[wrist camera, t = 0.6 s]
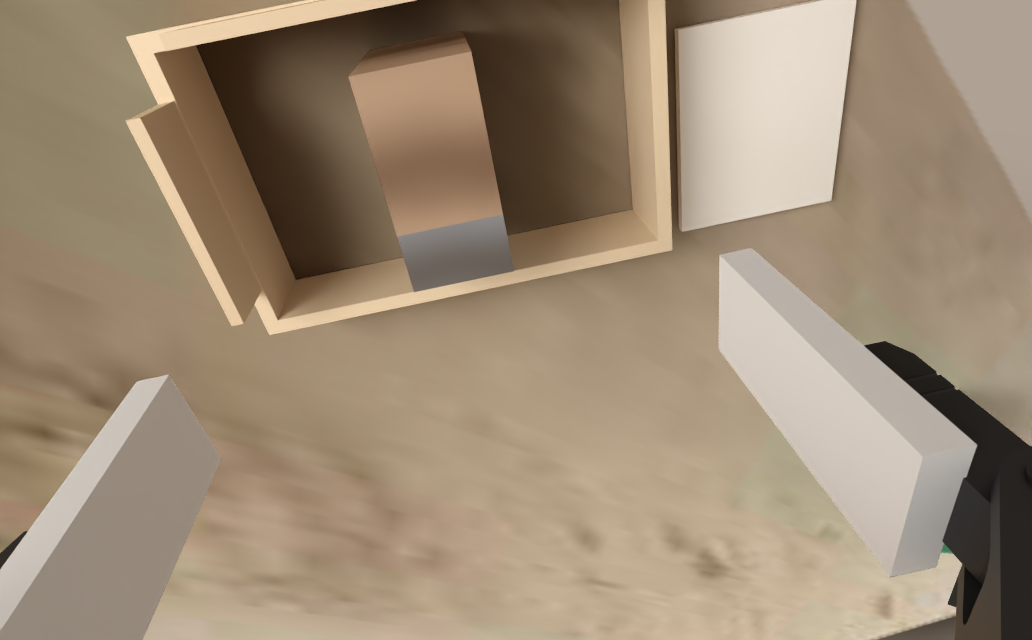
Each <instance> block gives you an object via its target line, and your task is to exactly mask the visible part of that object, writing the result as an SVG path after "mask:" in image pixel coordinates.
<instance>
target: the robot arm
mask: <svg viewBox="0 0 1032 640" xmlns="http://www.w3.org/2000/svg"><path fill="white" fill-rule="evenodd" d="M719 351H720V352H721V353H722V355H723V356H724V357H725V359H726V360H727V361H728V363H729V364H730V365H731V367H732V368H733V369H734V371H735V372H736V373H737V375H738V376H739V377H740V379H741V380H742V381H743V383H744V384H745V385H746V387H747V388H748V389H749V391H750V392H751V393H752V395H753V396H754V397H755V399H756V400H757V401H758V403H759V404H760V405H761V407H762V408H763V409H764V411H765V412H766V413H767V415H768V416H769V417H770V419H771V420H772V421H773V423H774V424H775V425H776V427H777V428H778V429H779V430H780V432H781V433H782V434H783V436H784V437H785V438H786V440H787V441H788V442H789V444H790V445H791V446H792V448H793V449H794V450H795V452H796V453H797V454H798V456H799V457H800V458H801V460H802V461H803V462H804V464H805V465H806V466H807V468H808V469H809V470H810V472H811V473H812V474H813V476H814V477H815V478H816V480H817V481H818V482H819V484H820V485H821V486H822V488H823V489H824V490H825V492H826V493H827V494H828V496H829V497H830V498H831V500H832V501H833V502H834V504H835V505H836V506H837V508H838V509H839V510H840V512H841V513H842V514H843V516H844V517H845V518H846V520H847V521H848V522H849V524H850V525H851V526H852V528H853V529H854V530H855V532H856V533H857V534H858V536H859V537H860V538H861V540H862V541H863V542H864V544H865V545H866V546H867V548H868V549H869V550H870V552H871V553H872V554H873V556H874V557H875V558H876V560H877V561H878V562H879V564H880V565H881V566H882V568H883V569H884V570H885V572H886V573H887V574H888V576H889V577H894V576H899V575H903V574H908V573H912V572H917V571H921V570H926V569H930V568H935V567H936V565H937V562H938V559H939V557H940V554H941V551H942V548H943V545H944V544H945V545H946V546H947V547H948V548H949V549H950V550H951V552H952V553H953V554H954V555H955V556H956V557H957V558H958V559H959V561H960V562H961V563H962V567H961V570H960V572H959V575H958V577H957V580H956V583H955V585H954V588H953V591H952V593H951V596H950V599H949V601H948V605H951V606H954V607H956V606H957V608H956V629H955V640H1032V446H1029V445H1028V444H1026V443H1025V442H1024V441H1023V440H1021V439H1020V438H1019V437H1018V436H1016V435H1015V434H1014V433H1013V432H1011V431H1010V430H1009V429H1008V428H1006V427H1005V426H1004V425H1003V424H1001V423H1000V422H999V421H998V420H996V419H995V418H994V417H993V416H991V415H990V414H989V413H988V412H986V411H985V410H984V409H983V408H981V407H980V406H979V405H978V404H976V403H975V402H974V401H973V400H971V399H970V398H969V397H968V396H966V395H965V394H964V393H963V392H961V391H960V390H955V388H954V385H953V384H951V383H950V382H949V381H947V380H946V379H945V378H944V377H942V376H941V375H937V374H936V371H935V370H934V369H932V368H931V367H930V366H929V365H927V364H926V363H925V362H924V361H922V360H921V359H920V358H919V357H917V356H916V355H915V354H913V353H911V352H909V351H906V350H904V349H902V348H899V347H897V346H895V345H893V344H890V343H888V342H886V341H883V342H879V343H874V344H869V345H865V346H863V345H862V344H861V343H860V342H859V341H858V340H856V339H855V338H854V337H853V336H852V335H851V334H850V333H848V332H847V331H846V330H845V329H844V328H843V327H842V326H840V325H839V324H838V323H837V322H836V321H835V320H834V319H832V318H831V317H830V316H829V315H828V314H827V313H826V312H824V311H823V310H822V309H821V308H820V307H819V306H817V305H816V304H815V303H814V302H813V301H812V300H811V299H809V298H808V297H807V296H806V295H805V294H804V293H803V292H801V291H800V290H799V289H798V288H797V287H796V286H795V285H793V284H792V283H791V282H790V281H789V280H788V279H787V278H785V277H784V276H783V275H782V274H781V273H780V272H779V271H777V270H776V269H775V268H774V267H773V266H772V265H770V264H769V263H768V262H767V261H766V260H765V259H764V258H762V257H761V256H760V255H759V254H758V253H757V252H756V251H754V250H753V249H752V248H748V249H744V250H739V251H735V252H730V253H725V254H721V255H720V264H719ZM221 459H222V458H221V456H220V455H219V453H218V451H217V450H216V448H215V447H214V445H213V443H212V442H211V440H210V439H209V437H208V435H207V434H206V432H205V431H204V429H203V428H202V426H201V424H200V423H199V421H198V420H197V418H196V416H195V415H194V413H193V412H192V410H191V408H190V407H189V405H188V404H187V402H186V400H185V399H184V397H183V396H182V394H181V393H180V391H179V389H178V388H177V386H176V385H175V383H174V381H173V380H172V378H171V377H170V375H165V376H160V377H155V378H151V379H146V380H142V381H137V382H136V383H135V385H134V386H133V387H132V389H131V390H130V392H129V393H128V394H127V396H126V397H125V398H124V400H123V401H122V403H121V404H120V405H119V407H118V408H117V409H116V411H115V412H114V414H113V415H112V416H111V418H110V419H109V420H108V422H107V423H106V425H105V426H104V427H103V429H102V430H101V431H100V433H99V434H98V436H97V437H96V438H95V440H94V441H93V442H92V444H91V445H90V447H89V448H88V449H87V451H86V452H85V453H84V455H83V456H82V458H81V459H80V460H79V462H78V463H77V464H76V466H75V467H74V469H73V470H72V471H71V473H70V474H69V476H68V477H67V478H66V480H65V481H64V482H63V484H62V485H61V487H60V488H59V489H58V491H57V492H56V493H55V495H54V496H53V498H52V499H51V500H50V502H49V503H48V504H47V506H46V507H45V509H44V510H43V511H42V513H41V514H40V515H39V517H38V518H37V520H36V521H35V522H34V524H33V525H32V526H31V528H30V529H29V531H25V532H23V533H22V534H21V535H20V536H19V537H18V538H17V539H16V540H15V541H13V542H12V543H11V544H10V545H9V546H8V547H7V548H6V549H5V550H4V551H2V552H1V553H0V640H143V638H144V635H145V633H146V631H147V629H148V626H149V624H150V622H151V619H152V617H153V615H154V613H155V610H156V608H157V606H158V603H159V601H160V599H161V597H162V594H163V592H164V590H165V587H166V585H167V583H168V580H169V578H170V576H171V574H172V571H173V569H174V567H175V564H176V562H177V560H178V558H179V555H180V553H181V551H182V548H183V546H184V544H185V542H186V539H187V537H188V535H189V532H190V530H191V528H192V526H193V523H194V521H195V519H196V516H197V514H198V512H199V510H200V507H201V505H202V503H203V500H204V498H205V496H206V494H207V491H208V489H209V487H210V484H211V482H212V480H213V477H214V475H215V473H216V471H217V468H218V466H219V464H220V461H221Z"/></svg>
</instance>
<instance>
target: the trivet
mask: <svg viewBox="0 0 1032 640" xmlns="http://www.w3.org/2000/svg"><path fill="white" fill-rule="evenodd" d="M855 8H856V0H813V1H808V2H804V3H799V4H794V5H789V6H784V7H779V8H774V9H769V10H765V11H760V12H755V13H750V14H745V15H740V16H735V17H731V18H726V19H721V20H716V21H711V22H706V23H701V24H697V25H692V26H687V27H682V28H677V29H675V73H676V119H677V164H678V209H679V229H680V230H681V231H682V232H684V231H689V230H694V229H698V228H703V227H708V226H713V225H717V224H722V223H727V222H732V221H736V220H741V219H746V218H751V217H755V216H760V215H765V214H770V213H774V212H779V211H784V210H789V209H793V208H798V207H803V206H808V205H813V204H817V203H822V202H827V201H831V198H832V190H833V183H834V175H835V167H836V159H837V151H838V143H839V135H840V127H841V119H842V111H843V103H844V95H845V88H846V80H847V72H848V64H849V56H850V48H851V40H852V32H853V24H854V16H855Z"/></svg>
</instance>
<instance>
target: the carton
mask: <svg viewBox="0 0 1032 640" xmlns="http://www.w3.org/2000/svg"><path fill="white" fill-rule="evenodd" d="M410 1H415V0H301V1H297V2H292V3H287V4H282V5H277V6H272V7H267V8H262V9H257V10H252V11H247V12H242V13H237V14H233V15H228V16H223V17H218V18H213V19H208V20H203V21H198V22H193V23H188V24H183V25H178V26H174V27H169V28H164V29H160V30H155V31H151V32H146V33H141V34H137V35H132V36H128V37H126V38H127V40H128V42H129V45H130V47H131V49H132V51H133V53H134V55H135V57H136V59H137V61H138V63H139V65H140V67H141V69H142V72H143V74H144V76H145V78H146V80H147V82H148V84H149V86H150V88H151V90H152V92H153V94H154V96H155V99H156V101H157V103H158V105H157V106H155V107H153V108H151V109H149V110H147V111H145V112H143V113H141V114H138V115H136V116H134V117H132V118H130V119H128V120H126V123H127V125H128V127H129V129H130V131H131V133H132V135H133V136H134V138H135V140H136V142H137V144H138V146H139V148H140V150H141V152H142V154H143V156H144V158H145V160H146V162H147V163H148V165H149V167H150V169H151V171H152V173H153V175H154V177H155V179H156V181H157V183H158V185H159V187H160V189H161V190H162V192H163V194H164V196H165V198H166V200H167V202H168V204H169V206H170V208H171V210H172V212H173V214H174V216H175V217H176V219H177V221H178V223H179V225H180V227H181V229H182V231H183V233H184V235H185V237H186V239H187V241H188V243H189V244H190V246H191V248H192V250H193V252H194V254H195V256H196V258H197V260H198V262H199V264H200V266H201V268H202V270H203V271H204V273H205V275H206V277H207V279H208V281H209V283H210V285H211V287H212V289H213V291H214V293H215V295H216V297H217V298H218V300H219V302H220V304H221V306H222V308H223V310H224V312H225V314H226V316H227V318H228V320H229V322H230V324H231V325H232V326H235V325H240V324H244V322H245V320H246V319H247V317H248V315H249V313H250V311H251V309H252V307H253V306H254V304H255V306H256V308H257V310H258V312H259V314H260V317H261V319H262V321H263V323H264V325H265V327H266V329H267V331H268V333H269V335H271V334H276V333H281V332H286V331H290V330H295V329H300V328H305V327H309V326H314V325H319V324H324V323H328V322H333V321H338V320H343V319H347V318H352V317H357V316H362V315H366V314H371V313H376V312H381V311H385V310H390V309H395V308H400V307H404V306H409V305H414V304H419V303H424V302H428V301H433V300H438V299H443V298H447V297H452V296H457V295H462V294H466V293H471V292H476V291H481V290H485V289H490V288H495V287H500V286H504V285H509V284H514V283H519V282H523V281H528V280H533V279H538V278H542V277H547V276H552V275H557V274H561V273H566V272H571V271H576V270H580V269H585V268H590V267H595V266H599V265H604V264H609V263H614V262H618V261H623V260H628V259H633V258H637V257H642V256H647V255H652V254H656V253H661V252H666V251H671V250H672V219H671V185H670V151H669V116H668V82H667V48H666V14H665V0H619V12H620V26H621V41H622V56H623V71H624V86H625V101H626V116H627V131H628V146H629V161H630V176H631V191H632V206H633V209H632V210H627V211H623V212H618V213H613V214H608V215H604V216H599V217H594V218H589V219H585V220H580V221H575V222H570V223H565V224H561V225H556V226H551V227H546V228H542V229H537V230H532V231H527V232H522V233H518V234H513V235H508V236H507V237H508V242H509V248H510V253H511V258H512V263H513V268H514V271H513V272H508V273H504V274H499V275H494V276H489V277H484V278H480V279H475V280H470V281H465V282H461V283H456V284H451V285H446V286H442V287H437V288H432V289H427V290H423V291H418V292H414V290H413V287H412V284H411V281H410V277H409V274H408V271H407V267H406V264H405V261H404V258H398V259H393V260H389V261H384V262H379V263H374V264H370V265H365V266H360V267H355V268H350V269H346V270H341V271H336V272H331V273H327V274H322V275H317V276H312V277H307V278H303V279H298V280H296V279H295V277H294V275H293V272H292V270H291V268H290V265H289V263H288V260H287V258H286V256H285V253H284V251H283V249H282V246H281V244H280V242H279V239H278V237H277V235H276V232H275V230H274V228H273V225H272V223H271V221H270V218H269V216H268V214H267V211H266V209H265V207H264V204H263V202H262V199H261V197H260V195H259V192H258V190H257V188H256V185H255V183H254V181H253V178H252V176H251V174H250V171H249V169H248V167H247V164H246V162H245V160H244V157H243V155H242V153H241V150H240V148H239V145H238V143H237V141H236V138H235V136H234V134H233V131H232V129H231V127H230V124H229V122H228V120H227V117H226V115H225V113H224V110H223V108H222V106H221V103H220V101H219V99H218V96H217V94H216V92H215V89H214V87H213V84H212V82H211V80H210V77H209V75H208V73H207V70H206V68H205V66H204V63H203V61H202V59H201V56H200V54H199V52H198V49H197V47H196V45H199V44H204V43H209V42H214V41H219V40H224V39H229V38H234V37H238V36H243V35H248V34H253V33H258V32H263V31H268V30H273V29H278V28H283V27H288V26H292V25H297V24H302V23H307V22H312V21H317V20H322V19H327V18H332V17H337V16H342V15H346V14H351V13H356V12H361V11H366V10H371V9H376V8H381V7H386V6H391V5H396V4H400V3H405V2H410Z"/></svg>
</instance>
